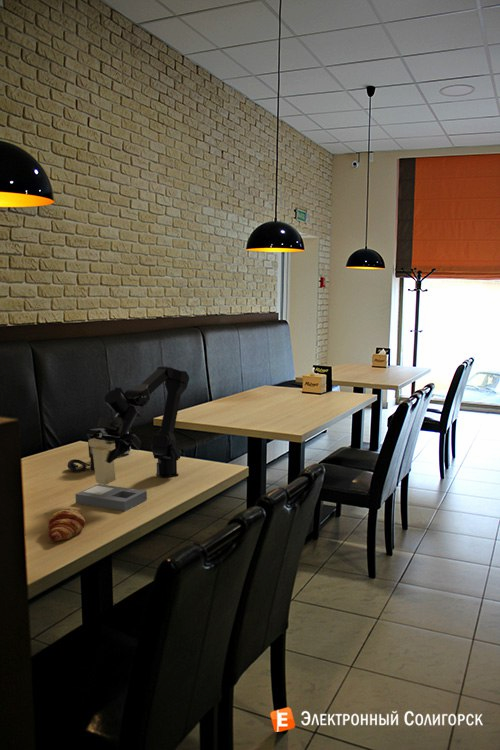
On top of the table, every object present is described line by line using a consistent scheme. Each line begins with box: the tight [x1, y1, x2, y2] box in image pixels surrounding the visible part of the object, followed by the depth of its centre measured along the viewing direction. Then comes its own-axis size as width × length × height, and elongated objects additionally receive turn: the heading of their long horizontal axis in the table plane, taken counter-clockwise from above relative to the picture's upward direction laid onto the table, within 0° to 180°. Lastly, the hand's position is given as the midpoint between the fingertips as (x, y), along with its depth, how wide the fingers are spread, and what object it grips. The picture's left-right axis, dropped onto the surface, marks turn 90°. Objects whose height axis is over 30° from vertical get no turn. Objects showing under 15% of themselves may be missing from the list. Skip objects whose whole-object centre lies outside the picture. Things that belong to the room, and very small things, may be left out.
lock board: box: [75, 483, 148, 512], centre depth 208 cm, size 19×12×3 cm, turn 65°
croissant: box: [47, 508, 86, 542], centre depth 183 cm, size 21×10×8 cm, turn 178°
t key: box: [87, 438, 117, 485], centre depth 207 cm, size 4×10×14 cm, turn 55°
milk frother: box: [66, 427, 112, 472], centre depth 246 cm, size 14×16×15 cm
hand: (102, 461), depth 206 cm, fingers closed on t key, 5 cm apart
